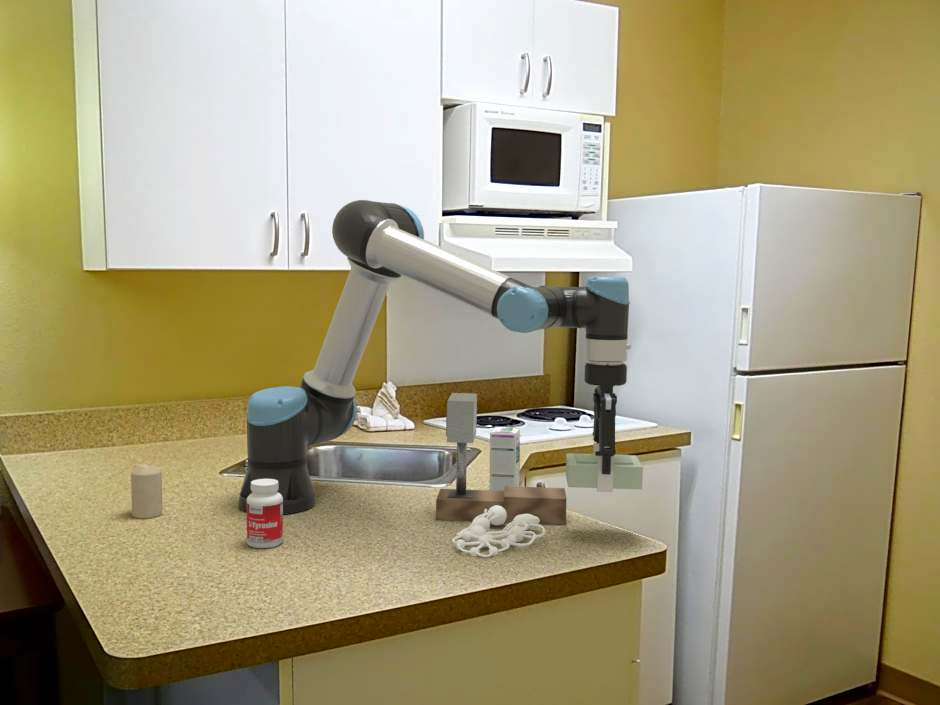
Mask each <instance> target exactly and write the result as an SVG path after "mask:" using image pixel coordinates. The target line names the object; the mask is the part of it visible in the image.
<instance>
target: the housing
mask: <svg viewBox="0 0 940 705" xmlns="http://www.w3.org/2000/svg"><path fill="white" fill-rule="evenodd" d="M495 505H499V506H502V507H503V508H504V509H505V510H506V513H507V518H506V521H505V522H504V523H511V522H512V521H513V520H514V518H515V517H516V516H517V515H520V514H531V515H533V516H536V517H538V518H539V520H540V522H539V525H544V524H545V525H547V524H548V525H567V524H566V522H567V494H566V489H565V487H545V486H544V487H542V486H540V487H538V486H520V487H517V486H505V489H504V491H492V490H490V489H488V490H487V489H466V494H465V495H457V494H456V488H440V489H439V492H438V494H437V496H436V499H435V506H436V507H435V520H438V521H439V520H440V521H460V522H461V521H464V522H465V521H466V522H472V521H473V520H474V519H475V518H476V517H477V516H479V515H482V514H484V510H485V509H487V512H488V510H489V509H490V508H491V507H492V506H495ZM487 512H486V513H487ZM485 518H486V517H485Z"/></svg>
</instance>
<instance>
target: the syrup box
mask: <svg viewBox="0 0 940 705" xmlns="http://www.w3.org/2000/svg"><path fill="white" fill-rule="evenodd" d="M520 438H521V429H520V428H519V427H512V426H495V427H494V428H493V429H492V430H491V431H490V432H489V490H492V491H504V489H505V486H517V487H521V486H520V484H521V482H520V481H521V480H520V477H521V474H520V472H521V471H520V470H521V469H520V468H521V450H520V449H521V439H520Z"/></svg>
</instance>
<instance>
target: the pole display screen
mask: <svg viewBox="0 0 940 705" xmlns="http://www.w3.org/2000/svg"><path fill="white" fill-rule="evenodd" d="M477 405H478V393H472V392H471V393H468V392H465V393H464V392H462V393H461V392H452V393H451V395H449V397H448V398H447V404H446V412H445V414H446V415H445V416H446V417H445V418H446V419H445V420H446V421H445V423H446V424H445V425H446V426H445V437H446V442H447V443H455V444H456V471H455V472H456V475H455V478H456V480H455V489H456V494H457V495H465V494H466V490H467V471H468V470H467V466H468V464H467V463H468V462H467V461H468V459H467V458H468V444H473V443H474V441H475V439H476V436H477V422H478V421H477V419H478V418H477V416H478V415H477V413H478V412H477V410H478V406H477Z"/></svg>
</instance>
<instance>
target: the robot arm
mask: <svg viewBox="0 0 940 705" xmlns="http://www.w3.org/2000/svg"><path fill="white" fill-rule="evenodd" d="M331 230H332V231H331V232H332V233H331V234H332V238H333V241H334V244H335V246H336V248H337V249H338V250H339V251H340V252H341V253H342V254H343V255H344V256H345V257H346V259H347V261H348V264H349V266H350V270H349V272H348V275H347V279H346V281H345V284H344V286H343V289H342V290H341V293H340V294H341V295H340V297H339V300H338V302H337V305H336V308H335V310H334V314H333V316H332V319H331V322H330V324H329V327H328V329H327V332H326V335H325V338H324V341H323V343H322V346H321V349H320V352H319V354H318V357H317V358H316V359H317V360H316V363H315V366H314V368H313V369H312V370H309V371H307V372H305V373H304V374H303V378H302V379H301V383H300V385H299V387H297V386H291V385H288V386H287V385H285V386H276V387H269V388H265V389H262V390H261V389H260V390H259V391H256V392H254V393H253V394H251V396H250V397H249V398H248V400H247V407H246V408H247V410H246V411H247V412H246V415H245V418H246V434H247V435H246V436H247V437H246V439H247V440H246V442H247V443H246V444H247V446H246V448H247V449H246V450H247V470H246V473H245V476H244V479H243V482H242V485H241V488H240V491H239V494H238V506H239V507H238V508H239V509H240V510H241V511H243V512H246V513H247V497H248V496H249V495H250V494H251V493H252V491H251V482H252V481H253V480H257V479H275V480H277V481H278V486H279V488H278V490H277V492H278V493H280V494H281V495H282V497H283V515H288V514H294V513H299V512H303V511H306V510H308V509H311V508H312V507H314V506H315V504H316V491H315V488H314V485H313V482H312V478H311V476H310V473H309V468H308V467H307V466H308V465H307V456H308V455H307V453H308V452H307V449H308V448H307V447H310V446H314V445H317V444H321V443H323V442H329V441H332V440H333V441H334V440H335V439H338V438H339V437H341V436H343V435H345V434H346V433H347V432H349V430H350V429H351V428H352V427H353V425H354V423H355V421H356V417H357V410H358V406H357V405H356V399H355V396H356V392H357V391H356V388H355V387H354V385H353V382H354V379H355V376H356V374H357V370H358V368H359V366H360V364H361V360H362V358H363V355H364V353H365V350H366V347H367V345H368V343H369V340H370V337H371V335H372V332H373V329H374V326H375V324H376V321H377V319H378V316H379V313H380V310H381V309H382V305H383V302H384V301H385V298H386V295H387V293H388V290H389V288H390V285H391V284H392V282H395V281H397V280H399V279H400V278H401V277H402V276H403V277H405V278H407V279H409V280H411V281H414V282H417V283H419V284H421V285H422V286H425V287H428V288H429V289H431V290H433V291H436V292H438V293H440V294H443V295H445V296H447V297H449V298H451V299H453V300H456V301H458V302H460V303H462V304H465V305H466V306H468V307H470V308H474V309H475V310H478V311H480V312H482V313H484V314H485V315H486V314H487V315H488V316H490V317H493V318H495V319H497V320H499V322H500V323H501V325H503V327H505V328H506V329H507V330H509V331H511V332H516V333H522V334H527V333H531V332H532V333H533V332H535V331H540V330H546V329H553V328H567V329H568V328H569V329H572V328H573V329H585V339H584V341H585V342H584V359H585V360H586V361H587V362H586V363H585V364H584V379H583V380H584V382H585V384H587V385H591V386H594V387H595V386H597V387H595V388H594V392H593V395H592V400H593V401H592V402H593V431H592V437H593V439H592V440H593V452H592V454H595V456H598V474H597V488H596V491H597V492H599V493H613V492H614V489H613V469H614V455H616V452H617V450H616V417H617V411H616V410H617V409H616V408H617V402H618V396H617V395H616V393H614V387H616V386H617V387H619V386H620V387H621V386H624V385H626V384H627V381H628V380H627V378H628V377H627V376H628V366H627V365H626V363H624V362H627V360H628V351H627V350H631V348H632V346H631V344H629V343H628V339H629V335H628V334H629V332H628V331H629V316H630V315H629V314H630V304H631V303H630V291H629V289H630V288H629V281H628V279H627V278H625V277H623V276H594V275H593V276H588V278H587V280H586V284H585V286H579V287H578V286H557V285H556V286H553V285H546V284H545V285H536V286H535V285H533V286H531V285H529V284H527V283H525V282H522V281H520V280H518V279H515V278H512V277H511V276H508V275H506V274H504V273H503V272H499V271H497V270H495V269H492V268H490V267H488V266H486V265H483V264H481V263H478V262H476V261H474V260H471V259H470V258H467V257H465V256H463V255H461V254H457V253H456V252H454V251H451V250H449V249H446V248H444V247H442V246H440V245H437V244H435V243H432V242H431V241H428V240H425V231H424V227H423V225H422V222H421V220H420V218H419V216H418V215H417V214H416V213H415V212H414V211H413V210H412V209H410V208H408V207H406V206H402V205H400V204H397V203H395V202H394V203H393V202H380V201H372V200H367V199H357V200H354V201H351V202H348V203H347V204H345V205H344V206H342V207H341V208H340V209H339V210H338V212H337V213H336V214H335V217H334V219H333V222H332V228H331Z"/></svg>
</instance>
